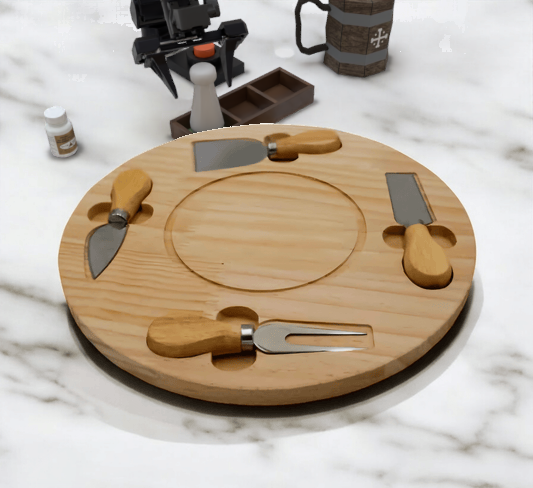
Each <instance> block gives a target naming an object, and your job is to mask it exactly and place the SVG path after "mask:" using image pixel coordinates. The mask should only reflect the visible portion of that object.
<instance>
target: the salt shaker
mask: <svg viewBox="0 0 533 488" xmlns="http://www.w3.org/2000/svg"><path fill="white" fill-rule="evenodd" d="M216 78H217V73H216V69H215V67H214V66H213V65H212V64H210V63H207V62H200V63H196V64H194V65H193V66H192V67H191V69H190V79H191V81H192V82H193V83H194V84H193V83H192V84H193V92H192V93H193V94H192V103H191V109H190V111H191V117H190V126H191V129H192V131H193V132H194V133H197V132H202V131H207V130H212V129H218V128H223V126H224V120H223V116H222V112H221V109H220V105H219V101H218V97H219V96H218V93H217V90H216V86H214V81H215V80H216Z"/></svg>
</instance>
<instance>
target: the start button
mask: <svg viewBox="0 0 533 488" xmlns="http://www.w3.org/2000/svg"><path fill="white" fill-rule="evenodd" d="M214 44H215V42H214V43H209V44H204V45H199V46H194V55H195V56H196V57H201V58H206V57H211V56H213V55H214V54H215V48H214Z"/></svg>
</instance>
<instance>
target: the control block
mask: <svg viewBox="0 0 533 488" xmlns="http://www.w3.org/2000/svg"><path fill="white" fill-rule="evenodd" d="M214 48H215V54H214V55H213V56H211V57H206V58H201V57H196V56H195V55H194V47H188V48H184V49H181V50H180V51H177V52H176V53H172V54H171V55H168V56H167V57H166V56H165V57H166V61H167V65H168V68H169V70H170V71H172V72H174V73H175V74H177V75H179V76H180V77H181V78H183V79H185V80H186V81H188V82H190V83H191V84H192V85H194V83H193V82H192V81H191V79H190V69H191V67H192V66H193V65H194V64H196V63H200V62H207V63H210V64H212V65H213V66H214V67H215V69H216V73H217V78H216V80H215V81H214V86H215V87H217V86H219V85H222V84H224V83H226V80H225V76H224V72H223V67H222V63H221V58H220V54H219V50H220V48H221V46H220V45H219V44H218V45H217V44H216V43H214ZM244 73H245V62H244V61H242V60H241V59H239V58H237V57H236V56H234V58H233V70H232V79H234V78H236V77H239V76H240V75H243V74H244Z"/></svg>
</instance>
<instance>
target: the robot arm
mask: <svg viewBox="0 0 533 488" xmlns="http://www.w3.org/2000/svg"><path fill="white" fill-rule="evenodd" d="M129 13H130V17H131V21H132V24H133V25H134V27H135V28H136V30H140V32H141V36H140V37H136V38H135V39H134V40H133V42H132V47H131V54H132V57H133V62H134V65H137V66H138V65H143V68H144V69H150V70H152V72H153V73H154V74H155V75H156V76H157V77H158V78H159V79H160V80H161V82H162V83H163V84H164V85H165V87H166V88H167V90H168V91H169V92H170V95H172V97H173V98H174V99H175V100H177V99H179V94H178V90H177V87H176V84H175V82H174V79H173V76H172V73H171V69H169V68H168V65H167V61H166V56H167V55H168V56H169V55H170V54H173V53H174V52H178V51H179V50H184V49H187V48H189V47H194V46H199V45H204V44H209V43H214V44H215V43H217V44H218V46H220V47H221V48H220V50H219V54H220V58H221V63H222V67H223V72H224V76H225V80H226V82H225V83H226V86H227V88H231V87H232V86H233V78H232V70H233V58H234V57H235V51H236V50H237V49H238V48H239V46H240V45H242V44H243V43H244V41H245V40H246V38H247V37H248V35H249V29H248V25H247V23H246V22H245V20H243V19H242V18H235V19H230V20H225V21H221V22H220V24H219V26H218V28H217V29H214V30H208V28H209V27H210V26H212V23H211V19H214V18H215V19H216V18H220V17H221V9H220V4H219V0H202V4H200V1H199V0H130V4H129ZM206 30H207V31H206Z"/></svg>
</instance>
